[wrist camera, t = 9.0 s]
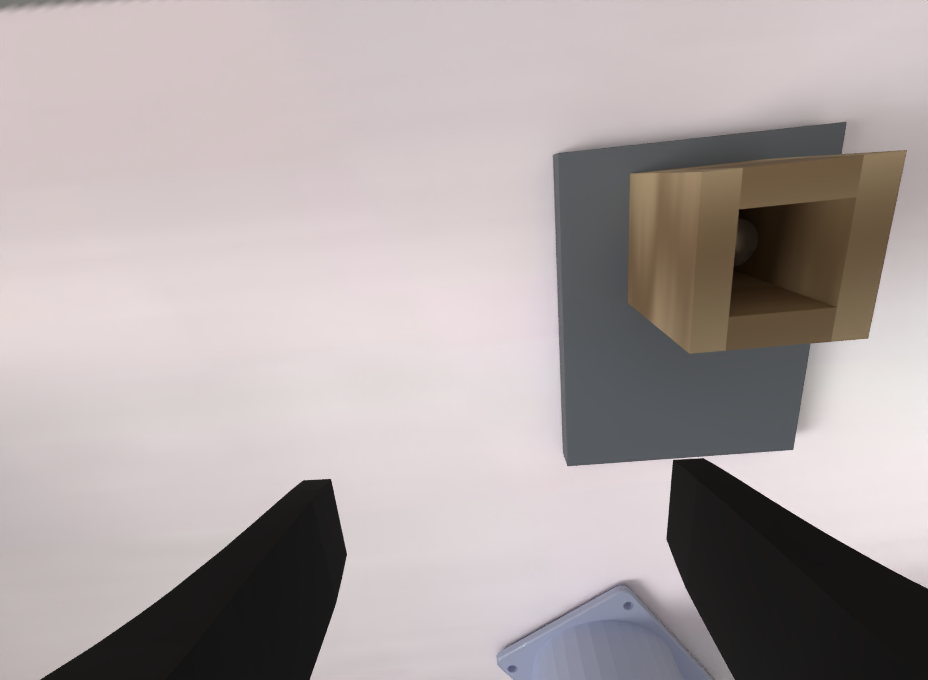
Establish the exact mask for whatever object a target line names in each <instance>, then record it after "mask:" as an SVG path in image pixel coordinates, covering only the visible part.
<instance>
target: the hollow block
mask: <svg viewBox="0 0 928 680" xmlns="http://www.w3.org/2000/svg"><path fill="white" fill-rule="evenodd" d="M906 152H907V150H903V151H887V152H871V153H854V154H838V155H822V156H806V157H789V158H773V159H762V160H752V161H743V162H734V163H724V164H715V165H706V166H697V167H687V168H678V169H669V170H659V171H650V172H641V173H631V174H630V206H629V261H628V304H629V305H631V306H632V307H633V308H634V309H636V310H637V311H638V312H639V313H640V314H642V315H643V316H644V317H645V318H647V319H648V320H649V321H650V322H651V323H653V324H654V325H655V326H656V327H658V328H659V329H660V330H661V331H662V332H664V333H665V334H666V335H667V336H669V337H670V338H671V339H672V340H673V341H675V342H676V343H677V344H678V345H679V346H681V347H682V348H683V349H684V350H686V351H687V352H688V353H689V354H693V353H704V352H716V351H728V350H739V349H751V348H763V347H774V346H786V345H797V344H809V343H821V342H832V341H844V340H856V339H867V338H868V337H869V332H870V327H871V322H872V317H873V312H874V308H875V303H876V298H877V293H878V288H879V283H880V278H881V273H882V269H883V264H884V259H885V254H886V249H887V244H888V239H889V235H890V230H891V225H892V220H893V215H894V210H895V205H896V201H897V196H898V191H899V186H900V181H901V176H902V171H903V167H904V162H905V157H906ZM738 218H740V219H745V220H747V221H749V222H750V223H752V224H753V225H754V227H755V228H756V230H757V234H758V243H757V246H756V249H755V251H754V253H753V254H752V256H751V257H750V258H749V259H748V260H747V261H745V262H744V263H742V264H740V265H738V266H735V267H734V257H735V246H736V236H737V225H738Z"/></svg>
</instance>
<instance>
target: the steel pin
mask: <svg viewBox="0 0 928 680" xmlns="http://www.w3.org/2000/svg"><path fill="white" fill-rule="evenodd" d="M757 243H758V234H757V230H756V228H755V227H754V225H753V224H752V223H750V222H749V221H747V220H745V219H740V218H738V225H737V236H736V246H735V257H734V267H735V266H738V265H740V264H742V263H744V262H745V261H747V260H748V259H749V258H750V257H751V256H752V254H753V253H754V251H755V249H756V246H757Z"/></svg>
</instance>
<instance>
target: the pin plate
mask: <svg viewBox="0 0 928 680" xmlns="http://www.w3.org/2000/svg"><path fill="white" fill-rule="evenodd" d="M845 128H846V122H841V123H832V124H823V125H814V126H805V127H795V128H786V129H777V130H768V131H759V132H750V133H740V134H731V135H722V136H713V137H704V138H695V139H685V140H676V141H667V142H658V143H649V144H640V145H630V146H621V147H612V148H603V149H594V150H585V151H575V152H566V153H558V154H554V155H553V167H554V197H555V227H556V257H557V287H558V317H559V347H560V377H561V408H562V438H563V454H564V457H565V460H566V463H567V466H577V465H591V464H604V463H618V462H632V461H646V460H659V459H673V458H687V457H701V456H714V455H728V454H742V453H756V452H769V451H783V450H793V448H794V442H795V435H796V429H797V423H798V417H799V411H800V405H801V399H802V392H803V386H804V380H805V374H806V368H807V362H808V356H809V349H810V343H809V344H797V345H786V346H774V347H763V348H751V349H739V350H728V351H716V352H704V353H693V354H689V353H688V352H687V351H686V350H684V349H683V348H682V347H681V346H679V345H678V344H677V343H676V342H675V341H673V340H672V339H671V338H670V337H669V336H667V335H666V334H665V333H664V332H662V331H661V330H660V329H659V328H658V327H656V326H655V325H654V324H653V323H651V322H650V321H649V320H648V319H647V318H645V317H644V316H643V315H642V314H640V313H639V312H638V311H637V310H636V309H634V308H633V307H632V306H631V305H629V304H628V261H629V206H630V174H631V173H641V172H650V171H659V170H669V169H678V168H687V167H697V166H706V165H715V164H724V163H734V162H743V161H752V160H762V159H773V158H789V157H806V156H822V155H838V154H841V153H842V147H843V141H844V135H845Z"/></svg>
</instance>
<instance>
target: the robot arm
mask: <svg viewBox="0 0 928 680" xmlns="http://www.w3.org/2000/svg"><path fill="white" fill-rule="evenodd" d="M667 542H668V544H669V547H670V550H671V552H672V555H673V557H674V560H675V563H676V565H677V568H678V570H679V573H680V575H681V578H682V580H683V582H684V585H685V587H686V589H687V591H688V593H689V595H690V597H691V599H692V601H693V603H694V605H695V607H696V608H697V610H698V612H699V614H700V616H701V618H702V620H703V622H704V623H705V625H706V627H707V629H708V631H709V633H710V635H711V636H712V638H713V640H714V642H715V644H716V646H717V648H718V649H719V651H720V653H721V655H722V657H723V659H724V660H725V662H726V664H727V666H728V668H729V670H730V672H731V673H732V675H733V677H734V679H735V680H928V589H927V588H925V587H923V586H921V585H919V584H917V583H915V582H913V581H911V580H909V579H907V578H906V577H904V576H902V575H900V574H898V573H896V572H894V571H892V570H890V569H888V568H887V567H885V566H883V565H881V564H879V563H877V562H876V561H874V560H872V559H870V558H869V557H867V556H865V555H863V554H861V553H860V552H858V551H856V550H854V549H852V548H851V547H849V546H847V545H845V544H844V543H842V542H840V541H838V540H836V539H835V538H833V537H831V536H830V535H828V534H826V533H825V532H823V531H821V530H819V529H818V528H816V527H814V526H813V525H811V524H809V523H808V522H806V521H804V520H803V519H801V518H799V517H798V516H796V515H795V514H793V513H791V512H790V511H788V510H786V509H785V508H783V507H782V506H780V505H778V504H777V503H775V502H774V501H772V500H770V499H769V498H767V497H766V496H764V495H762V494H761V493H759V492H758V491H756V490H755V489H753V488H751V487H750V486H748V485H747V484H745V483H743V482H742V481H740V480H739V479H737V478H736V477H734V476H732V475H731V474H729V473H728V472H726V471H724V470H723V469H721V468H719V467H718V466H716V465H714V464H713V463H711V462H709V461H707V460H705V459H704V458H700V459H682V460H673V467H672V479H671V491H670V504H669V516H668V528H667ZM346 556H347V553H346V548H345V543H344V538H343V534H342V529H341V524H340V520H339V515H338V510H337V505H336V501H335V496H334V491H333V486H332V482H331V479H322V480H304V481H302V482H301V483H299V484H298V485H297V486H296V487H294V488H293V489H292V490H291V491H290V492H288V493H287V494H286V495H285V496H284V497H283V498H282V499H280V500H279V501H278V502H277V503H276V504H275V505H273V506H272V507H271V508H270V509H269V510H268V511H267V512H266V513H264V514H263V515H262V516H261V517H260V518H259V519H258V520H256V521H255V522H254V523H253V524H252V525H251V526H249V527H248V528H247V529H246V530H245V531H244V532H242V533H241V534H240V535H239V536H238V537H237V538H235V539H234V540H233V541H232V542H231V543H230V544H229V545H227V546H226V547H225V548H224V549H223V550H221V551H220V552H219V553H218V554H216V555H215V556H214V557H213V558H211V559H210V560H209V561H208V562H206V563H205V564H204V565H203V566H201V567H200V568H199V569H198V570H196V571H195V572H194V573H193V574H191V575H190V576H189V577H188V578H187V579H185V580H184V581H183V582H182V583H180V584H179V585H178V586H177V587H175V588H174V589H173V590H171V591H170V592H169V593H168V594H166V595H165V596H164V597H162V598H161V599H160V600H158V601H157V602H156V603H154V604H153V605H151V606H150V607H149V608H147V609H146V610H145V611H143V612H142V613H140V614H139V615H138V616H136V617H135V618H133V619H132V620H130V621H129V622H128V623H126V624H125V625H123V626H122V627H120V628H119V629H118V630H116V631H115V632H113V633H112V634H110V635H109V636H108V637H106V638H105V639H103V640H102V641H100V642H99V643H97V644H96V645H94V646H93V647H91V648H90V649H88V650H87V651H85V652H83V653H82V654H80V655H79V656H77V657H75V658H74V659H72V660H71V661H69V662H68V663H66V664H64V665H63V666H61V667H60V668H58V669H56V670H55V671H53V672H52V673H50V674H49V675H47V676H45V677H44V678H42V679H41V680H310V677H311V674H312V671H313V668H314V666H315V663H316V660H317V657H318V654H319V651H320V649H321V646H322V643H323V640H324V637H325V634H326V631H327V628H328V625H329V623H330V620H331V617H332V614H333V611H334V608H335V605H336V601H337V597H338V593H339V588H340V584H341V580H342V575H343V570H344V566H345V561H346ZM626 602H627V603H626ZM497 665H498V666H499V667H500V668H501V669H502V670H503V671H504V672H505V673H506V674H508V675H509V676H510V677H511V678H512V679H513V680H714V679H713V678H712V677H711V676H710V675H709V674H708V673H707V672H706V671H705V670H704V668H703V667H702V666H701V665H700V664H699V663H698V662H697V661H696V660H695V659H694V658H693V657H692V655H691V654H690V653H689V652H688V651H687V650H686V649H685V648H684V647H683V646H682V645H681V644H680V643H679V641H678V640H677V639H676V638H675V637H674V636H673V635H672V634H671V633H670V632H669V631H668V630H667V629H666V627H665V626H664V625H663V624H662V623H661V622H660V621H659V620H658V619H657V618H656V617H655V616H654V614H653V613H652V612H651V611H650V610H649V609H648V608H647V607H646V606H645V605H644V604H643V603H642V602H641V600H640V599H639V598H638V597H637V596H636V595H635V594H634V593H633V592H632V591H631V590H630V589H629V588H628V587H626V586H617V587H614V588H612V589H611V590H609V591H607V592H605V593H604V594H602V595H600V596H598V597H596V598H595V599H593V600H591V601H589V602H587V603H586V604H584V605H582V606H580V607H579V608H577V609H575V610H573V611H571V612H570V613H568V614H566V615H564V616H562V617H561V618H559V619H557V620H555V621H553V622H552V623H550V624H548V625H546V626H545V627H543V628H541V629H539V630H537V631H536V632H534V633H532V634H530V635H528V636H527V637H525V638H523V639H521V640H520V641H518V642H516V643H514V644H512V645H511V646H509V647H507V648H505V649H503V650H502V651H500V652H499V653H498V654H497Z"/></svg>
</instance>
